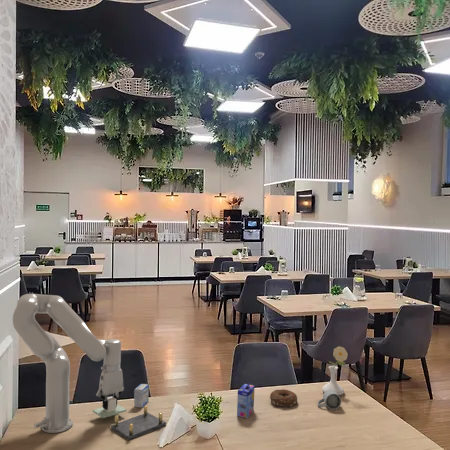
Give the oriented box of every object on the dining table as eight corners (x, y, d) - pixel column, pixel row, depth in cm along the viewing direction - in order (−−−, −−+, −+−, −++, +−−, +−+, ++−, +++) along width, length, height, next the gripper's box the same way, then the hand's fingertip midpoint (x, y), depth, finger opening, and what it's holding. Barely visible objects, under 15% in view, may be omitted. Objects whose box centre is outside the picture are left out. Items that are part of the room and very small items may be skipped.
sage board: (102, 418, 192) (103, 404, 193) (92, 411, 199) (93, 398, 199) (126, 411, 201) (126, 398, 201) (115, 405, 207) (116, 392, 207)
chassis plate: (128, 440, 179) (128, 426, 179) (110, 428, 189) (110, 416, 189) (166, 425, 192) (166, 413, 192) (147, 415, 202) (147, 403, 202)
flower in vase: (322, 396, 226) (322, 348, 226) (321, 388, 237) (321, 342, 238) (348, 398, 224) (348, 349, 224) (346, 390, 235) (346, 343, 235)
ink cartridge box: (247, 418, 200) (248, 387, 200) (236, 416, 202) (236, 385, 202) (254, 410, 209) (254, 380, 209) (243, 408, 211) (244, 378, 211)
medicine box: (142, 407, 211) (142, 389, 211) (133, 407, 212) (134, 389, 212) (148, 401, 219) (148, 384, 219) (140, 400, 220) (140, 383, 220)
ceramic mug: (336, 403, 218) (336, 387, 218) (341, 409, 210) (341, 393, 210) (315, 403, 218) (315, 388, 218) (319, 410, 210) (319, 394, 210)
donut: (270, 396, 226) (270, 387, 226) (296, 398, 225) (296, 388, 225) (269, 408, 212) (269, 397, 212) (297, 409, 210) (297, 399, 210)
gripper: (99, 372, 192) (97, 415, 191) (131, 365, 204) (130, 405, 203) (90, 368, 197) (88, 409, 197) (123, 362, 209) (121, 400, 208)
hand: (109, 407), depth 200 cm, fingers closed on sage board, 4 cm apart
